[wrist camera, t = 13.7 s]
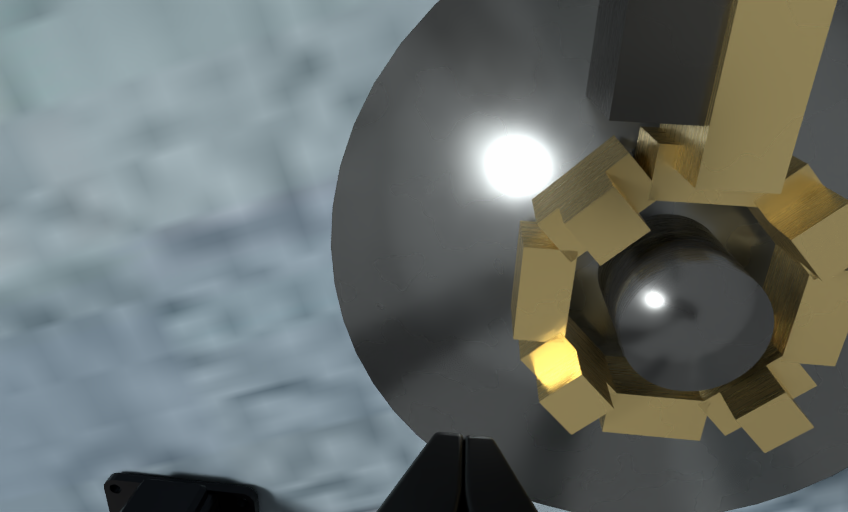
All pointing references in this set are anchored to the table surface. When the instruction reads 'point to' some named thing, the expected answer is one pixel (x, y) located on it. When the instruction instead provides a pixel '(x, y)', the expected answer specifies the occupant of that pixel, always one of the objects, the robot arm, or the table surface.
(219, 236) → the table surface
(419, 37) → the grey round tray
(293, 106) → the table surface
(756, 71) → the gold crown with post
